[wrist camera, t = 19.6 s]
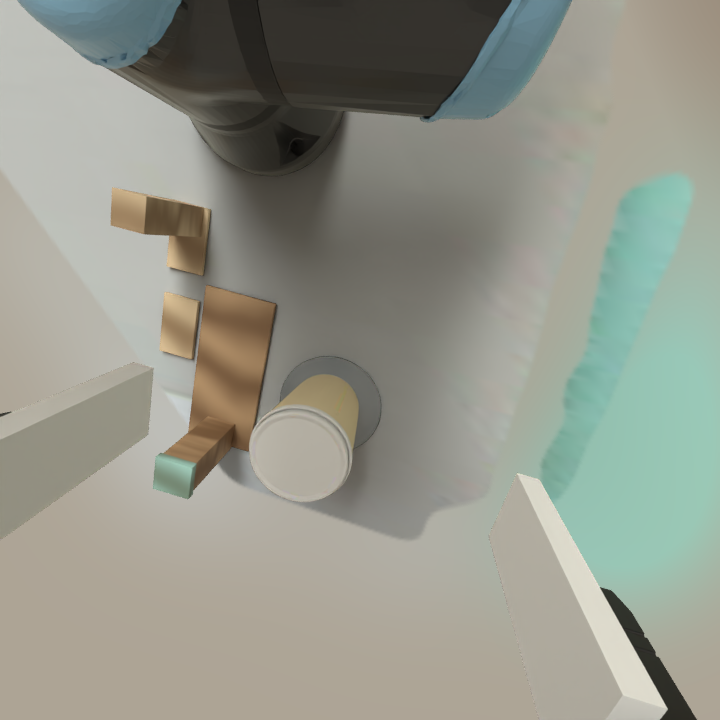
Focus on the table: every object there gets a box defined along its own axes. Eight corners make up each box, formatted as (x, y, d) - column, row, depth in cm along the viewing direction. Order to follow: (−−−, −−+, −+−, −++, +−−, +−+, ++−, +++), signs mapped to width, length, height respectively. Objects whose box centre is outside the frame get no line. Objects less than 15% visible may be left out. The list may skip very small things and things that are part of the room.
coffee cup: (304, 448, 46) (269, 514, 35) (275, 379, 44) (228, 425, 32) (376, 430, 44) (365, 493, 33) (350, 356, 42) (328, 397, 30)
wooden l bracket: (208, 285, 42) (146, 296, 32) (276, 303, 42) (235, 321, 32) (190, 434, 48) (133, 482, 38) (249, 452, 47) (207, 505, 38)
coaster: (291, 344, 43) (290, 345, 42) (393, 372, 42) (392, 374, 42) (273, 434, 46) (272, 436, 46) (366, 462, 46) (366, 464, 45)
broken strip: (175, 200, 40) (106, 185, 31) (210, 209, 40) (152, 198, 31) (162, 349, 45) (100, 374, 36) (193, 358, 45) (139, 385, 36)
